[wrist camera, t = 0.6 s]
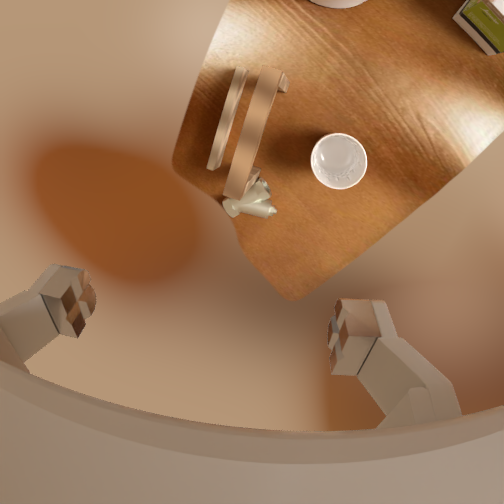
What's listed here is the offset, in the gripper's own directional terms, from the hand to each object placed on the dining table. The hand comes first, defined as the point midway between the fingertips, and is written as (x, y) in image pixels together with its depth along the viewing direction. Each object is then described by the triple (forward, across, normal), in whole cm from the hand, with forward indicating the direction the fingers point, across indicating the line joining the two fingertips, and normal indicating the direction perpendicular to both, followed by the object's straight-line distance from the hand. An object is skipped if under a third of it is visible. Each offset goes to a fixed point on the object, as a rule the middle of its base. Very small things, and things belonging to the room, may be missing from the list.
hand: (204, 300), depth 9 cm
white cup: (+43, -12, +5) cm, 45 cm away
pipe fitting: (+44, 0, +16) cm, 47 cm away
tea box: (+44, -40, -30) cm, 66 cm away
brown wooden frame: (+45, +2, +2) cm, 45 cm away
